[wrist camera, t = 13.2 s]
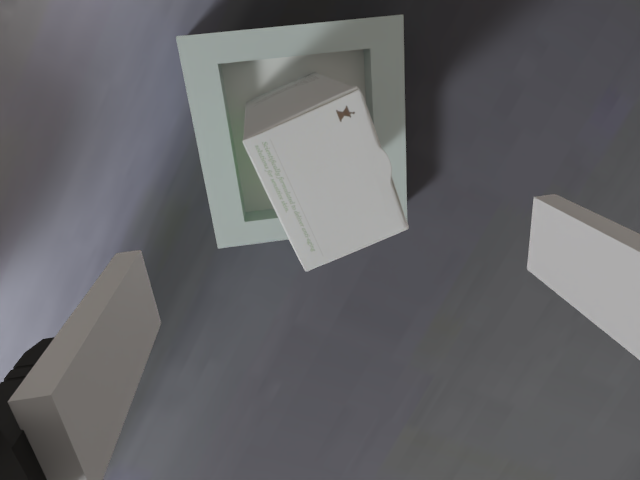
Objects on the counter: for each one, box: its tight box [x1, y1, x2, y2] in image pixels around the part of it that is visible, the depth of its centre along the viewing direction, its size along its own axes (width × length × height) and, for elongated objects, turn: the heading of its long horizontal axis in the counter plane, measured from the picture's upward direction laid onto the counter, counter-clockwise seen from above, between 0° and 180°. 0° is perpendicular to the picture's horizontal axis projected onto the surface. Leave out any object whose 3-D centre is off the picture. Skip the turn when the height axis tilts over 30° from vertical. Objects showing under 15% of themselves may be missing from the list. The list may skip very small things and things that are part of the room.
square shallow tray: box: [176, 15, 407, 248], centre depth 36 cm, size 16×16×4 cm
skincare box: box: [242, 72, 409, 271], centre depth 30 cm, size 8×7×16 cm
